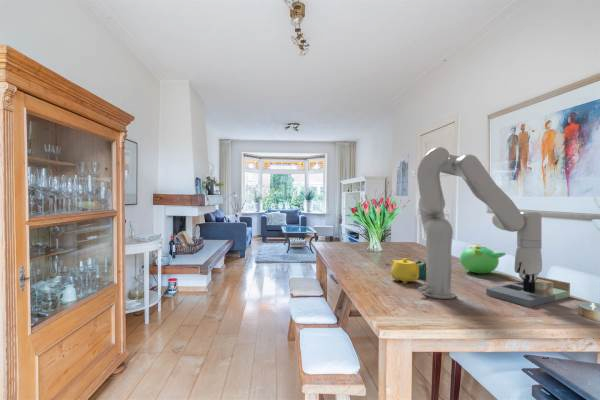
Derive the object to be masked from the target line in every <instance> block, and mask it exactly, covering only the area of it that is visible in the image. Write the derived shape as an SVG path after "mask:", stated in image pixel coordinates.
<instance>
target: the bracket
mask: <svg viewBox="0 0 600 400" xmlns="http://www.w3.org/2000/svg"><path fill="white" fill-rule="evenodd" d="M413 262H415V263H416V265H417V264H421V265H420V266H419V278H418V279H420V280H426V261H425V262H424V261H421V260H414V261H413Z"/></svg>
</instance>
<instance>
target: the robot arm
mask: <svg viewBox="0 0 600 400" xmlns="http://www.w3.org/2000/svg"><path fill="white" fill-rule="evenodd" d="M419 162H420V163H419V165H418V168H417V172H416V173H417V174H416V176H417V177H416V179H417V184H418V190H419V195H420V197H419V200H418V208H419V209H418V210H419V214H420V219H421V222H422V223H421V224H422V227H423V230H424V232H425V234H426V241H425V262H426V279H425V282H424V285H422V286H418V287H417V291H418V292H419V293H422V294H423V295H425V296H427V297H428V298H429V297H430V298H433V299H434V298H435V299H439V300H440V299H441V300H449V299H450V300H451V299H454V298H456V296H457V294H456V292H455V291H454V290H452V245H453V235H454V233H453V232H454V231H453V227H452V226H453V225H451V223H450V221H449V220H447V219H446V217H445V211H444V209H445V207H446V206H445V205H446V200H445V198H444V197H445V196H444V194H443V188H442V184H441V183H442V182H441V177H440V175H441V174H445V175H451V176H453V177H454V176H455V177H462V179H463V180H464V183H465V184H466V185H467V187H468V188H469V190H470V191H471V193H472V194H473V195H474V197H476V198H477V199H478V200H480V201H481V202H483V203H484V204H485V205H486V206H487V207H489V209H490V210H491V211H492V212H493V216H492V219H491V220H492V221H491V222H492V224H493V225H494V227H496V228H497V229H499V230H502V231H507V232H509V233H510V232H511V233H514V232H516V250H515V256H514V273H515V274H516V273H517V274H518V277H519V278H520V277H521V278H522V279H523V280H522V279H521V278H520V279H521V280H522V282H523V291H525V292H529V293H534V292H535V281H536V276H538V277H539V274H540V273H542V271H543V259H542V249H543V248H542V230H543V229H542V221H543V219H542V214H541V213H540V212H538V211H520V209H519V208H518V207H517V206H516V204H515V203H514V201H513V200H512V199H511V197H509V196H508V195H507V193H506V192H505V191H503V190H502V188H501V187H499V186H498V185H497V183H496V182H495V181H494V179H493V178H492V177H491V174H490V173H489V172H488V171H487V169H486V168H485V166H484V165H483V163H482V162H481V161H480V160H479V158H478V157H477V156H475V155H474V154H464V155H461V156H459V155H453V154H450V152H449V151H448V149H447V148H445V147H442V146H437V147H433V148H431V149H430V150H429V151H428V152H427V153H425V155H424V156H423V157H422V159H421V160H420V161H419ZM440 173H441V174H440ZM525 272H526V273H525Z"/></svg>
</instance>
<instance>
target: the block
mask: <svg viewBox="0 0 600 400" xmlns="http://www.w3.org/2000/svg"><path fill="white" fill-rule="evenodd" d="M531 294H535V295H539V296H542V297H547V296H553V282H549V281H544V280H540V279H537V280H536V281H535V292H534V293H531Z"/></svg>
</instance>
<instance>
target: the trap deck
mask: <svg viewBox="0 0 600 400" xmlns="http://www.w3.org/2000/svg"><path fill="white" fill-rule="evenodd" d="M537 279H540V280H544V281H549V282H553V296H547V297H542V296H539V295H535V294H531V293H529V292H525V291H523V281H519V282H513V283H510V284H509V283H508V284H503V285H499V286H495V287H489V288H486V289H485V290H486V291H485V293H486V294H485V295H486V296H489V297H492V298H496V299H499V300H503V301H506V302H508V303H514V304H517V305H520V306H524V307H527V308H532V307H533V308H534V307H536V306H539V305H543V304H547V303H548V304H549V303H551V302H554V301H559V300H562V299H563V300H564V299H566V298H570V297H571V283H570V282H567V281H562V280H558V279H552V278H547V277H542V276H539V275H538V276H536V280H537Z"/></svg>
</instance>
